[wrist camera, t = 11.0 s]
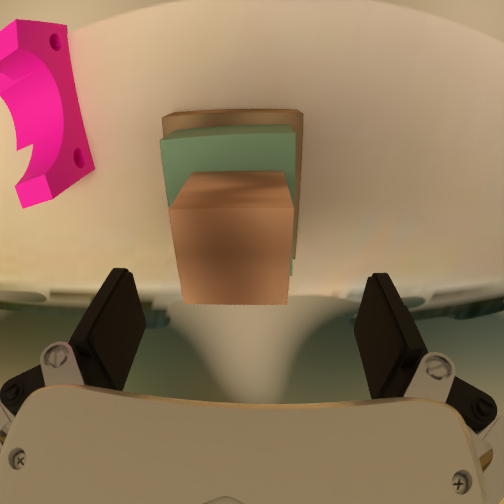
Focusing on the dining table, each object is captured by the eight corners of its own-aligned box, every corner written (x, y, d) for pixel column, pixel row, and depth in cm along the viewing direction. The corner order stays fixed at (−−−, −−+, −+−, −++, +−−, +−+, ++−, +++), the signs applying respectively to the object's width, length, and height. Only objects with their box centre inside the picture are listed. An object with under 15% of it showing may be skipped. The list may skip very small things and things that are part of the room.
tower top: (288, 124, 20) (295, 133, 17) (286, 247, 25) (291, 275, 22) (175, 129, 20) (159, 140, 17) (190, 249, 25) (181, 277, 22)
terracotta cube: (283, 171, 18) (293, 208, 13) (280, 249, 21) (287, 304, 16) (191, 172, 18) (168, 209, 13) (199, 249, 21) (184, 303, 16)
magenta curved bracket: (20, 52, 18) (-31, 57, 11) (67, 25, 17) (16, 19, 11) (49, 182, 26) (6, 214, 19) (96, 168, 25) (52, 198, 19)
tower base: (295, 109, 23) (303, 113, 20) (290, 236, 29) (295, 259, 26) (175, 112, 23) (161, 117, 20) (186, 236, 29) (178, 259, 26)
